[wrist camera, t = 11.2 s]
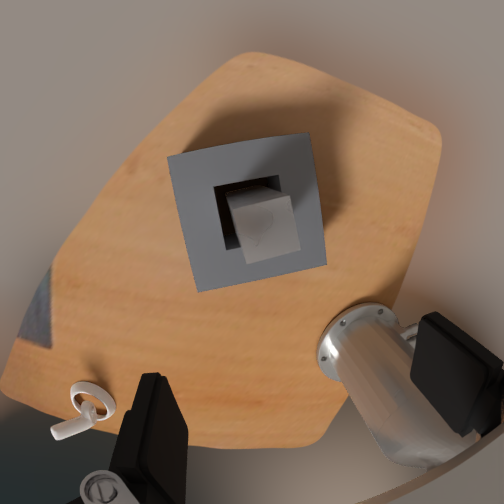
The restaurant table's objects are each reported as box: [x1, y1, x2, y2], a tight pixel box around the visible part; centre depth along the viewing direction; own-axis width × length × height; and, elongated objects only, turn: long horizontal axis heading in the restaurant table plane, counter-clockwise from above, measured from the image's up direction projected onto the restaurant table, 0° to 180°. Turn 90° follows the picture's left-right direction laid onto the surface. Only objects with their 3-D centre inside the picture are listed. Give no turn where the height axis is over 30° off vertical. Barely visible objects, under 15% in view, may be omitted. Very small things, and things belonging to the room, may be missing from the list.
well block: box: [167, 132, 327, 292], centre depth 27 cm, size 12×12×6 cm
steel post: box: [225, 185, 301, 264], centre depth 24 cm, size 4×4×13 cm
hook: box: [51, 381, 116, 440], centre depth 31 cm, size 8×12×7 cm
